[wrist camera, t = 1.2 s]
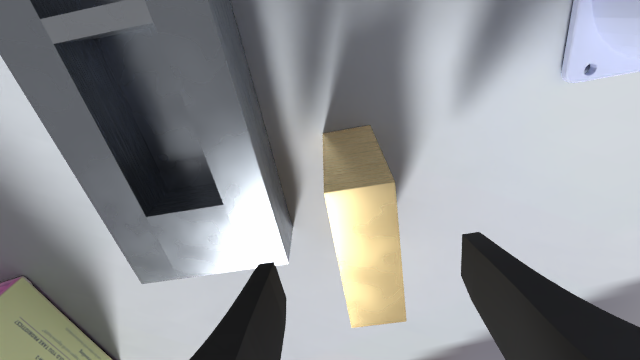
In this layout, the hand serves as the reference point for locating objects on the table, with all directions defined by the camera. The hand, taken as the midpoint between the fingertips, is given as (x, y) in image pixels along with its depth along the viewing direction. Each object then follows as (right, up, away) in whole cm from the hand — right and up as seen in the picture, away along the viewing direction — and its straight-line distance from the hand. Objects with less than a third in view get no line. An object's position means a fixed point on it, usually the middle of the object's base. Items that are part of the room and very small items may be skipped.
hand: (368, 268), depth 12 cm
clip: (0, +3, +5) cm, 6 cm away
